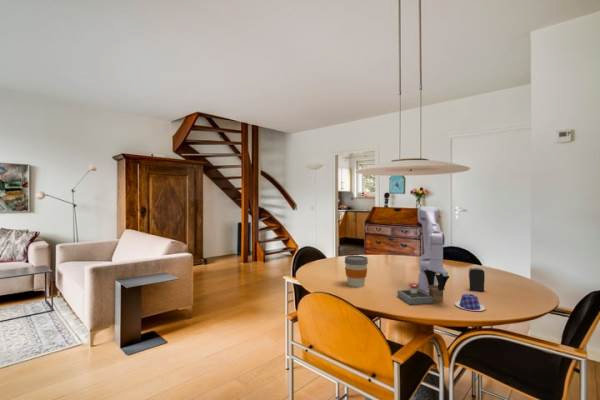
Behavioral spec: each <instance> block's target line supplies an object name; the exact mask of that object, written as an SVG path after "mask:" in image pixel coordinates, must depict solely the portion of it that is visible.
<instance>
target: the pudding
mask: <svg viewBox="0 0 600 400" xmlns="http://www.w3.org/2000/svg"><path fill="white" fill-rule="evenodd" d="M454 305H455V306H456V307H458V308H460V309H463V310H466V311H469V309H471V310H470V311H472V312H481V311H485V310H486V307H485V305H484V304H480V302H479V297H478V296H477V295H475V294H471V293H463V294H462V295H461V298H460V300H458V301H456V302H454Z"/></svg>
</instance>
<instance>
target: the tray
mask: <svg viewBox="0 0 600 400" xmlns="http://www.w3.org/2000/svg"><path fill="white" fill-rule="evenodd" d="M396 293H397V298H398V299H400V300H402V301H403V302H405V303H406V304H408V305H409V306H419V305H433V297H432V296H430V295H429V293H426V292H425V291H423V290H421V289H419V288H418V297H415V298H411V297H410V289H399V290H397V292H396Z"/></svg>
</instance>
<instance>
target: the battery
mask: <svg viewBox="0 0 600 400" xmlns="http://www.w3.org/2000/svg"><path fill="white" fill-rule="evenodd" d="M485 275H486V274H485V270H483V269H482V268H476V267H470V268H469V269H468V281H469V283H468V285H469V286H468V287H469V288H468V290H469V291H474V292H485V280H486V279H485V278H486V276H485Z"/></svg>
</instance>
